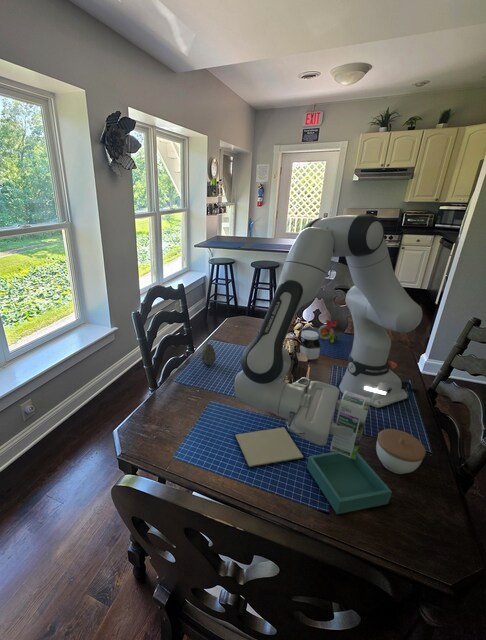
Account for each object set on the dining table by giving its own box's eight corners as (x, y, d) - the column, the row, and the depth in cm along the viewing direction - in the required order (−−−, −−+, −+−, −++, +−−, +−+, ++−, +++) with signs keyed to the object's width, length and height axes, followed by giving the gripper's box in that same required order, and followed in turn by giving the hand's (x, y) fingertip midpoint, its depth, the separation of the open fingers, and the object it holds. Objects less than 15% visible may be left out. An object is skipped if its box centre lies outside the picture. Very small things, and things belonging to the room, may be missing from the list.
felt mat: (283, 428, 101) (284, 427, 101) (303, 457, 90) (303, 456, 90) (235, 435, 98) (235, 434, 98) (249, 467, 87) (249, 465, 87)
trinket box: (399, 487, 81) (409, 459, 77) (363, 456, 90) (370, 430, 86) (427, 472, 85) (437, 445, 81) (389, 444, 94) (397, 419, 90)
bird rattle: (319, 345, 156) (339, 343, 149) (313, 324, 154) (332, 321, 148) (323, 340, 160) (342, 338, 154) (317, 319, 159) (336, 316, 153)
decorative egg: (209, 370, 133) (209, 348, 129) (198, 365, 137) (198, 344, 133) (218, 364, 137) (218, 343, 133) (207, 359, 141) (207, 339, 137)
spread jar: (320, 362, 137) (325, 338, 132) (296, 365, 135) (299, 340, 131) (306, 349, 148) (310, 326, 143) (283, 351, 146) (286, 328, 142)
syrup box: (329, 450, 78) (339, 401, 72) (334, 435, 82) (344, 388, 77) (355, 461, 75) (368, 411, 69) (359, 445, 79) (371, 397, 74)
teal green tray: (351, 459, 89) (354, 448, 88) (388, 503, 77) (392, 491, 75) (306, 467, 87) (308, 456, 85) (337, 514, 75) (340, 502, 73)
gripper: (285, 417, 72) (352, 440, 66) (305, 373, 88) (361, 388, 82) (282, 438, 75) (347, 462, 68) (302, 392, 91) (356, 408, 84)
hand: (355, 421), depth 75 cm, fingers closed on syrup box, 6 cm apart
